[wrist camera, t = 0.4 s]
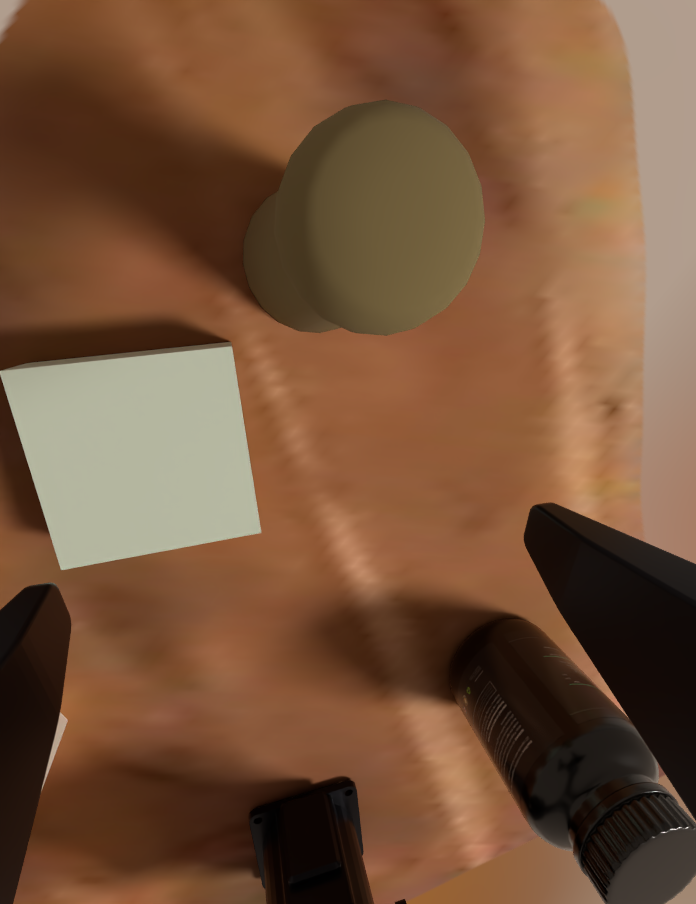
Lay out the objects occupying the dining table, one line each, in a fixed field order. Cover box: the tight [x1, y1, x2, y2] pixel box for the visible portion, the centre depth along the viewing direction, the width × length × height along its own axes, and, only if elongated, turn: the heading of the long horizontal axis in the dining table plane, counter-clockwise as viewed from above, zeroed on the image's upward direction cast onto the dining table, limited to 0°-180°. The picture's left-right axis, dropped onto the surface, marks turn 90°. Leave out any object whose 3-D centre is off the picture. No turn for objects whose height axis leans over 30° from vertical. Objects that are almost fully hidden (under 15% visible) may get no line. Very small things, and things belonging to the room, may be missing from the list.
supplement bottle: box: [450, 619, 696, 904], centre depth 24 cm, size 7×7×12 cm
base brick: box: [0, 342, 261, 570], centre depth 20 cm, size 8×8×2 cm
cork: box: [243, 100, 485, 336], centre depth 15 cm, size 6×6×11 cm
